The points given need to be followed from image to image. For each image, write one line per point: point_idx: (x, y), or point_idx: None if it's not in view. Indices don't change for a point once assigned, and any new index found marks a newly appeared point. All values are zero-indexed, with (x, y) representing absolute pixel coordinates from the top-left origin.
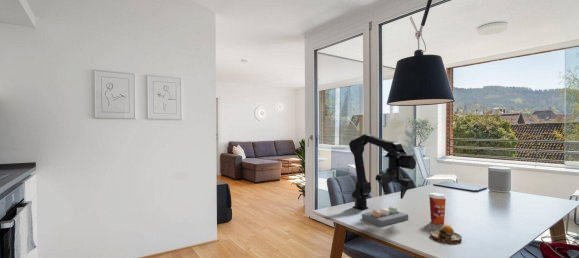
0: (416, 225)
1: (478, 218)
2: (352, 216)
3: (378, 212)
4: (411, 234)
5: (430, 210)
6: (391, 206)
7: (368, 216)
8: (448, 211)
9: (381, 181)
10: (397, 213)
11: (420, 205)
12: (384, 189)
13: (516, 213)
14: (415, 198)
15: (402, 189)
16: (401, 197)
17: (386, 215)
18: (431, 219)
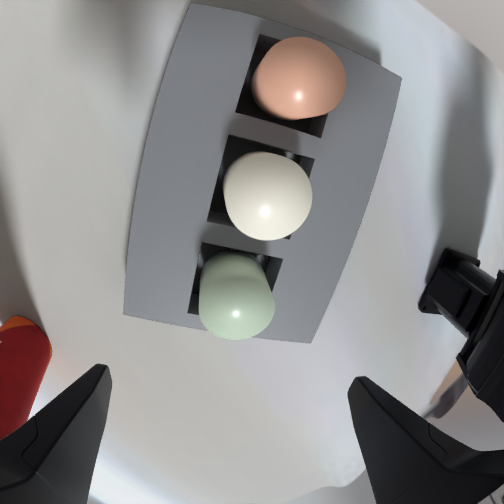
0: (43, 223)
1: None
2: (437, 98)
3: (270, 50)
4: (11, 61)
5: (13, 370)
6: (264, 328)
7: (338, 45)
8: (116, 463)
9: (501, 488)
10: (191, 285)
11: (225, 471)
12: (398, 422)
13: None
14: (276, 493)
15: (2, 459)
16: (87, 373)
17: (233, 165)
18: (28, 334)
